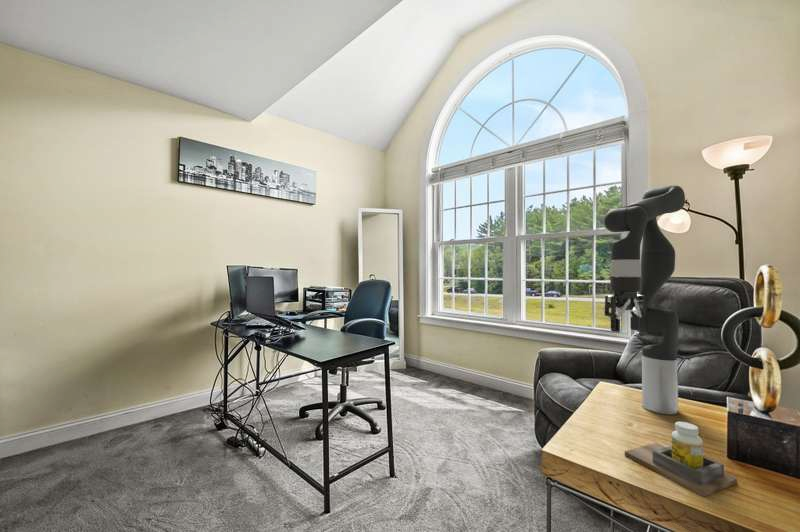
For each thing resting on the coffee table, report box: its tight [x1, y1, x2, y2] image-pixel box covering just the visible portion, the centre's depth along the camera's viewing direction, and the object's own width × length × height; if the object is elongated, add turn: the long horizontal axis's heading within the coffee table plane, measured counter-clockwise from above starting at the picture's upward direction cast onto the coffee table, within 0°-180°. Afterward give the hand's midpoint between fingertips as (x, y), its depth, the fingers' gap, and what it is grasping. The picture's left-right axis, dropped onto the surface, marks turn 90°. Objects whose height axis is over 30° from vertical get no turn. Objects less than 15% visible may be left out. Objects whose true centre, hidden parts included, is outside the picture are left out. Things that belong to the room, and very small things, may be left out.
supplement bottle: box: [671, 421, 704, 470], centre depth 75 cm, size 5×5×10 cm
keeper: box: [624, 442, 738, 498], centre depth 76 cm, size 12×16×4 cm
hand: (625, 330), depth 97 cm, fingers open, 8 cm apart
